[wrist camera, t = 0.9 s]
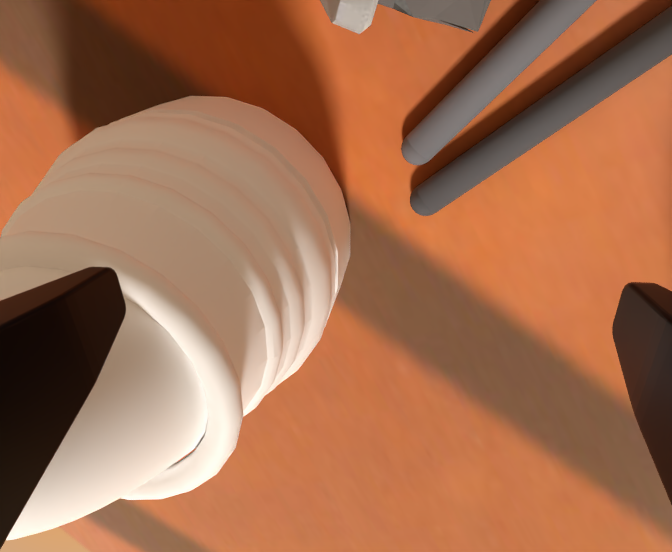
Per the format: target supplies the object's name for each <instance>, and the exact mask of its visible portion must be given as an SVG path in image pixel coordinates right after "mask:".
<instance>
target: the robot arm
mask: <svg viewBox="0 0 672 552" xmlns="http://www.w3.org/2000/svg"><path fill="white" fill-rule="evenodd" d="M125 314H126V304H125V300H124V297H123V293H122V290H121V286H120V283H119V280H118V276H117V274H116V272H115V270H113V269H112V268H110V267H88V268H85V269H83V270H80V271H77V272H75V273H72V274H69V275H67V276H64V277H61V278H59V279H56V280H53V281H51V282H48V283H46V284H43V285H40V286H38V287H35V288H32V289H30V290H27V291H24V292H22V293H19V294H16V295H14V296H11V297H9V298H6V299H3V300H1V301H0V549H1V547H2V545H3V544H4V542H5V540H6V539H7V537H8V535H9V533H10V532H11V530H12V528H13V526H14V525H15V523H16V521H17V519H18V518H19V516H20V514H21V512H22V511H23V509H24V507H25V505H26V504H27V502H28V500H29V499H30V497H31V495H32V493H33V492H34V490H35V488H36V486H37V485H38V483H39V481H40V479H41V478H42V476H43V474H44V472H45V471H46V469H47V467H48V465H49V464H50V462H51V460H52V458H53V457H54V455H55V453H56V452H57V450H58V448H59V446H60V445H61V443H62V441H63V439H64V438H65V436H66V434H67V432H68V431H69V429H70V427H71V425H72V424H73V422H74V420H75V418H76V417H77V415H78V413H79V412H80V410H81V408H82V406H83V405H84V403H85V401H86V399H87V398H88V396H89V394H90V392H91V390H92V389H93V387H94V385H95V383H96V381H97V379H98V377H99V375H100V373H101V370H102V368H103V366H104V364H105V361H106V359H107V357H108V354H109V352H110V350H111V348H112V345H113V343H114V341H115V338H116V336H117V334H118V332H119V329H120V327H121V325H122V322H123V320H124V318H125ZM613 339H614V342H615V346H616V350H617V353H618V357H619V361H620V364H621V368H622V372H623V375H624V379H625V383H626V386H627V390H628V394H629V397H630V401H631V404H632V408H633V411H634V414H635V417H636V419H637V422H638V425H639V427H640V430H641V432H642V435H643V437H644V439H645V442H646V444H647V447H648V449H649V451H650V454H651V456H652V459H653V461H654V463H655V466H656V468H657V471H658V473H659V476H660V478H661V480H662V483H663V485H664V488H665V490H666V492H667V495H668V497H669V500H670V502H671V504H672V291H670V290H668V289H666V288H664V287H662V286H660V285H658V284H655V283H640V282H631V283H628V284H627V285H625V287H624V289H623V291H622V294H621V297H620V301H619V305H618V308H617V312H616V315H615V319H614V322H613Z"/></svg>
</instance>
